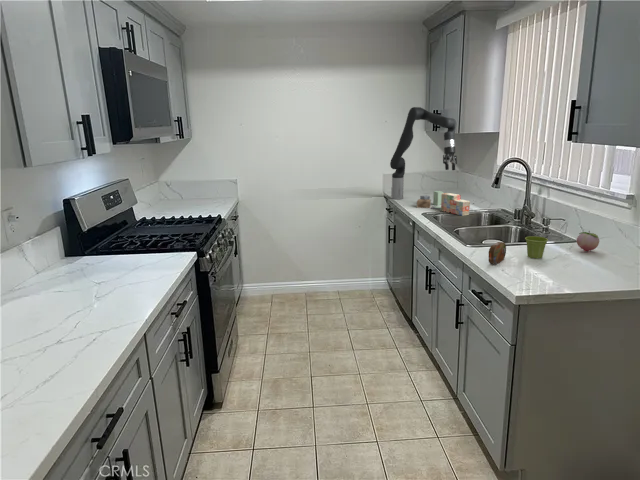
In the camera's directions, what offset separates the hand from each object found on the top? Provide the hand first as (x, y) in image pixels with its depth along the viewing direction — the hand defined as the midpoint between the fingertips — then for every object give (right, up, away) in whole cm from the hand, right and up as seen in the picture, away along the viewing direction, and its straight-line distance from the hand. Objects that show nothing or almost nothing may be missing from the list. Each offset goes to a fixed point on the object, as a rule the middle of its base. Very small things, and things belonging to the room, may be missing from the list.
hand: (450, 170), depth 308 cm
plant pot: (+7, -57, -108) cm, 122 cm away
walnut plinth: (-15, -25, +15) cm, 33 cm away
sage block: (-3, -23, +21) cm, 31 cm away
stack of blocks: (+1, -31, -8) cm, 32 cm away
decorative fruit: (+34, -55, -102) cm, 120 cm away
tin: (-13, -59, -113) cm, 128 cm away
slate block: (-12, -22, +27) cm, 36 cm away
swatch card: (-6, -26, +8) cm, 28 cm away
